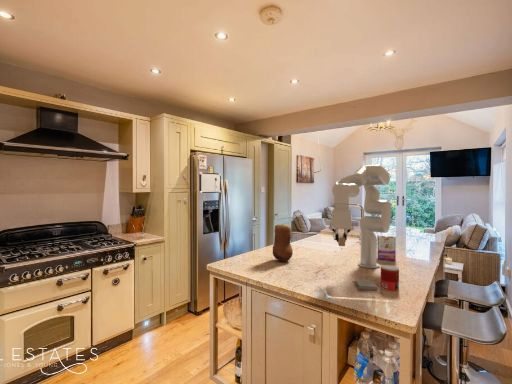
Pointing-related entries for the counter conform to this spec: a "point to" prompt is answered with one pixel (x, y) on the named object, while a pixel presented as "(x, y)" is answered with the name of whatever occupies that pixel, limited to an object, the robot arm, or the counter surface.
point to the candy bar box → (386, 247)
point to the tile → (366, 284)
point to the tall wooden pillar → (340, 239)
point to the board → (366, 289)
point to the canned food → (390, 277)
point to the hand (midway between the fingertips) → (340, 241)
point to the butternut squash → (282, 243)
